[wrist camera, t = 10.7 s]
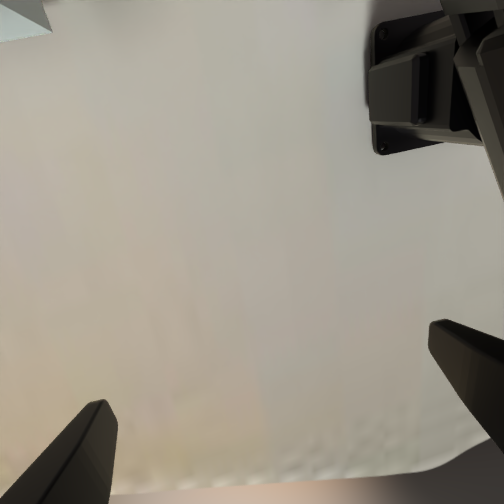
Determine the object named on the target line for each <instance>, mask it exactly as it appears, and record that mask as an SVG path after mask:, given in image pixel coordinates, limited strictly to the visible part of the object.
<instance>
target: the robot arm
mask: <svg viewBox="0 0 504 504" xmlns="http://www.w3.org/2000/svg"><path fill="white" fill-rule="evenodd" d="M440 2H441V5H442V8H443V11H437V12H432V13H427V14H422V15H417V16H412V17H407V18H402V19H396V20H391V21H386V22H382V23H380V24H378V25H376V26H375V27H374V28H373V30H372V32H371V37H370V38H371V69H370V70H369V72H368V86H369V120H370V122H372V123H373V149H374V152H375V153H376V154H378V155H389V154H393V153H398V152H402V151H407V150H412V149H416V148H421V147H426V146H430V145H435V144H439V143H444V142H449V143H458V144H468V145H477V146H484V147H485V150H486V153H487V156H488V159H489V161H490V164H491V167H492V170H493V173H494V175H495V178H496V181H497V184H498V186H499V189H500V192H501V195H502V198H503V200H504V0H440ZM380 30H383V31H384V34H385V35H384V38H383V40H381V39H380V38H379V32H380ZM383 142H385V148H384V149H383V150H381V144H382V143H383ZM428 348H429V351H430V353H431V355H432V356H433V358H434V359H435V361H436V362H437V364H438V365H439V367H440V368H441V370H442V371H443V373H444V374H445V376H446V377H447V379H448V381H449V382H450V384H451V385H452V387H453V388H454V390H455V391H456V393H457V394H458V396H459V397H460V399H461V400H462V402H463V403H464V404H465V406H466V407H467V408H468V410H469V411H470V412H471V413H472V415H473V416H474V417H475V418H476V420H477V421H478V422H479V423H480V425H481V426H482V427H483V429H484V430H485V431H486V432H487V434H488V435H489V436H490V437H491V439H492V440H493V441H494V442H495V443H496V445H497V446H498V447H499V449H500V450H501V451H502V452H503V454H504V340H502V339H500V338H497V337H494V336H491V335H489V334H486V333H483V332H481V331H478V330H475V329H473V328H470V327H467V326H465V325H462V324H459V323H456V322H454V321H451V320H448V319H441V320H437V321H433V322H431V323H430V325H429V337H428ZM117 432H118V422H117V419H116V417H115V415H114V413H113V411H112V409H111V407H110V405H109V403H108V402H107V401H106V400H105V399H101V400H97V401H93V402H90V403H88V404H87V405H86V406H85V407H84V408H83V409H82V410H81V411H80V412H79V413H78V414H77V416H76V417H75V418H74V419H73V420H72V421H71V422H70V423H69V424H68V425H67V426H66V427H65V429H64V430H63V431H62V432H61V433H60V434H59V435H58V436H57V437H56V438H55V439H54V440H53V442H52V443H51V444H50V445H49V446H48V447H47V448H46V449H45V450H44V451H43V452H42V453H41V455H40V456H39V457H38V458H37V459H36V460H35V461H34V462H33V463H32V464H31V465H30V466H29V468H28V469H27V470H26V471H25V472H24V473H23V474H22V475H21V476H20V477H19V478H18V479H17V481H16V482H15V483H14V484H13V485H12V486H11V487H10V488H9V489H8V490H7V491H6V492H5V493H4V495H3V496H2V497H1V498H0V504H108V503H109V497H110V492H111V485H112V477H113V468H114V459H115V450H116V441H117Z"/></svg>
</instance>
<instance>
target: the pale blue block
mask: <svg viewBox="0 0 504 504" xmlns="http://www.w3.org/2000/svg"><path fill="white" fill-rule="evenodd" d="M48 33H53V32H52V29H51V26H50V24H49V21H48V18H47V16H46V13H45V10H44V8H43V5H42V2H41V0H0V43H1V42H6V41H11V40H16V39H22V38H27V37H32V36H38V35H43V34H48Z"/></svg>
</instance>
